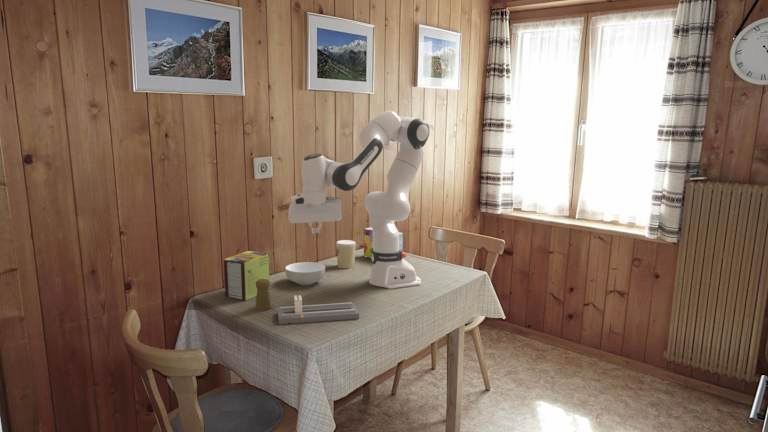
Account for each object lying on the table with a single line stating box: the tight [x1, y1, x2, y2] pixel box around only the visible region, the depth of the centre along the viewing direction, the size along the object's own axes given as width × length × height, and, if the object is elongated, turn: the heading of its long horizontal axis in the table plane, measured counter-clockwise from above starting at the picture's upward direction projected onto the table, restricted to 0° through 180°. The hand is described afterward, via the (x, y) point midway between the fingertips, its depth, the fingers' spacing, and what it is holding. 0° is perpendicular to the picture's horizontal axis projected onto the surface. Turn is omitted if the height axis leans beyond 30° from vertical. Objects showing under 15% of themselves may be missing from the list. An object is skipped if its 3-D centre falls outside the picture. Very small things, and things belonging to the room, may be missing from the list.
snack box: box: [363, 226, 404, 257], centre depth 269 cm, size 21×6×15 cm, turn 52°
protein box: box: [223, 250, 270, 301], centre depth 216 cm, size 10×15×16 cm
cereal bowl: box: [284, 261, 326, 286], centre depth 232 cm, size 17×17×7 cm
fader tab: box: [293, 294, 303, 313], centre depth 192 cm, size 2×5×5 cm, turn 13°
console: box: [277, 301, 360, 325], centre depth 194 cm, size 28×11×3 cm, turn 103°
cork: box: [254, 279, 273, 312], centre depth 200 cm, size 6×6×11 cm
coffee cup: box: [335, 239, 357, 269], centre depth 256 cm, size 9×9×12 cm
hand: (315, 233), depth 206 cm, fingers closed
